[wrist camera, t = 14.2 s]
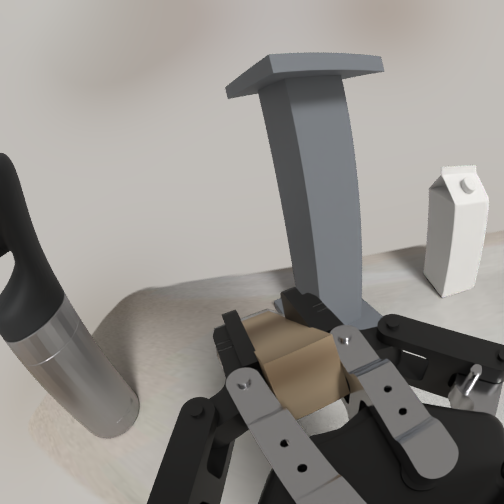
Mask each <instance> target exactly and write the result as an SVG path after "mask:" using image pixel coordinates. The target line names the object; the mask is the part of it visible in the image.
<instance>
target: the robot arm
mask: <svg viewBox="0 0 504 504" xmlns="http://www.w3.org/2000/svg"><path fill="white" fill-rule="evenodd" d="M9 251H11V252H12V253H13V256H14V260H15V266H14V269H13V272H12V275H11V278H10V279H9V282H8V284H7V285H6V287H5V288H4V290H3V291H2V293H1V294H0V335H1V336H2V337H3V339H4V340H5V342H6V343H7V344H8V346H9V347H10V348H11V350H12V351H13V352H14V354H15V355H16V356H17V358H18V359H19V360H20V361H21V362H22V364H23V365H24V366H25V367H26V368H27V370H28V371H29V372H30V373H31V374H32V375H33V377H34V378H35V379H36V380H37V381H38V382H39V383H40V384H41V386H42V387H43V388H44V389H45V390H46V391H47V392H48V393H49V394H50V395H51V396H52V397H53V398H54V399H55V400H56V401H57V402H58V403H59V404H60V405H61V406H62V407H63V408H64V409H65V410H66V411H67V412H68V413H70V414H71V415H72V416H73V417H74V418H75V419H76V420H77V421H78V422H79V423H81V424H82V425H83V426H84V427H85V428H87V429H88V430H89V431H90V432H91V433H93V434H94V435H96V436H98V437H101V438H113V437H117V436H119V435H121V434H123V433H124V432H125V431H127V430H128V429H129V428H130V427H131V426H132V424H133V423H134V421H135V420H136V417H137V415H138V411H139V401H138V397H137V395H136V394H135V392H134V391H133V390H132V389H131V388H130V386H129V385H128V384H127V383H126V382H125V380H124V379H123V378H122V377H121V375H120V374H119V373H118V371H117V370H116V369H115V368H114V366H113V365H112V364H111V362H110V361H109V360H108V358H107V357H106V356H105V354H104V353H103V352H102V350H101V349H100V347H99V346H98V345H97V343H96V342H95V340H94V339H93V337H92V336H91V335H90V333H89V332H88V330H87V328H86V327H85V325H84V324H83V322H82V321H81V319H80V318H79V316H78V315H77V313H76V311H75V310H74V308H73V306H72V305H71V303H70V301H69V300H68V298H67V296H66V294H65V293H64V291H63V289H62V287H61V285H60V284H59V282H58V280H57V278H56V276H55V275H54V273H53V271H52V269H51V267H50V265H49V263H48V261H47V259H46V257H45V254H44V252H43V250H42V248H41V246H40V243H39V241H38V238H37V235H36V233H35V230H34V227H33V224H32V221H31V218H30V215H29V212H28V209H27V206H26V202H25V198H24V195H23V191H22V188H21V185H20V181H19V178H18V175H17V173H16V170H15V168H14V165H13V163H12V162H11V160H10V159H9V157H8V156H7V155H5V154H4V153H0V257H1V256H3V255H4V254H6V253H7V252H9ZM281 300H282V305H283V310H284V315H285V318H286V319H289V320H291V321H294V322H296V323H299V324H301V325H304V326H307V327H309V328H312V327H313V328H316V329H318V330H321V331H324V332H327V333H330V334H332V336H333V339H334V342H335V345H336V348H337V352H338V355H339V358H340V361H341V365H342V370H343V373H344V375H345V378H346V381H347V385H348V388H349V392H350V394H348V395H346V396H344V397H342V398H341V400H342V402H343V403H344V405H345V407H346V410H347V414H348V418H349V421H348V422H347V423H346V424H345V425H344V426H343V427H341V428H340V429H337V430H333V431H330V432H326V433H322V434H317V435H313V436H310V437H308V435H307V434H306V433H305V432H304V430H303V429H302V428H301V426H300V425H299V424H298V422H297V421H296V420H295V418H294V417H293V416H292V414H291V413H290V412H289V410H288V409H287V408H286V407H283V406H282V405H281V404H280V403H279V401H278V400H277V398H276V397H275V395H274V394H273V393H272V391H271V390H270V388H269V387H268V385H267V384H266V382H265V379H264V376H263V373H262V370H261V367H260V364H259V361H258V359H257V357H256V355H255V353H254V351H256V350H255V348H254V346H253V344H252V342H251V340H250V338H249V336H248V334H247V332H246V330H245V328H244V326H243V324H242V322H241V319H240V317H239V315H238V313H237V311H236V310H233V311H230V312H228V313H225V314H222V317H223V320H224V322H225V325H223V326H220V327H217V328H215V330H214V334H213V339H214V342H215V345H216V348H217V351H218V354H219V357H220V360H221V363H222V366H223V369H224V372H225V376H226V382H225V385H224V387H223V388H222V390H221V391H220V392H218V393H217V394H216V395H214V396H213V397H211V398H210V399H207V398H204V397H196V398H193V399H190V400H189V401H187V402H186V403H185V404H184V405H183V406H182V408H181V410H180V413H179V416H178V419H177V421H176V424H175V427H174V430H173V432H172V435H171V438H170V440H169V443H168V446H167V449H166V451H165V454H164V457H163V460H162V463H161V465H160V468H159V471H158V474H157V477H156V479H155V482H154V485H153V488H152V491H151V493H150V496H149V499H148V502H147V504H220V501H221V497H222V493H223V489H224V485H225V481H226V477H227V472H228V468H229V464H230V460H231V455H232V451H233V446H234V442H235V439H236V438H237V437H239V436H240V435H242V434H243V433H244V432H246V431H247V430H250V432H251V433H252V435H253V437H254V438H255V440H256V442H257V443H258V445H259V447H260V448H261V450H262V452H263V453H264V455H265V457H266V458H267V460H268V461H269V463H270V465H271V466H272V470H271V471H270V473H269V475H268V478H267V480H266V483H265V486H264V489H263V491H262V494H261V497H260V499H259V502H258V504H504V427H503V425H502V423H501V422H500V421H499V420H498V418H496V417H495V414H496V411H497V407H498V402H499V398H500V393H501V389H502V384H503V382H504V345H502V344H498V343H494V342H491V341H487V340H484V339H480V338H476V337H473V336H469V335H466V334H462V333H459V332H455V331H452V330H448V329H445V328H441V327H438V326H434V325H431V324H427V323H424V322H420V321H417V320H414V319H410V318H407V317H404V316H400V315H396V314H389V315H385V316H383V317H382V318H381V319H380V320H379V321H378V324H377V327H372V328H368V329H364V330H358V329H357V328H356V327H354V326H351V325H344V324H343V323H342V322H341V321H340V320H339V319H338V317H337V316H336V315H335V314H334V313H333V312H332V311H331V310H330V309H329V308H327V306H326V305H325V304H324V303H323V302H322V301H321V300H320V299H319V298H318V297H317V296H315V295H313V294H311V293H305V294H303V295H302V294H301V293H300V292H299V291H298V289H297V288H296V287H293V288H291V289H288V290H286V291H283V292H281ZM403 350H405V351H408V352H411V353H414V354H417V355H420V356H423V357H425V358H427V359H424V358H421V357H418V356H415V355H412V354H409V353H406V352H403ZM409 385H410V386H413V387H416V388H419V389H422V390H425V391H427V392H430V393H433V394H436V395H439V396H442V397H446V398H448V399H449V402H450V406H451V408H448V407H441V406H435V405H430V404H424V403H421V401H420V400H419V398H418V397H417V396H416V394H415V393H414V392H413V390H412V389H411V387H410V386H409Z"/></svg>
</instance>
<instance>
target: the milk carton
mask: <svg viewBox="0 0 504 504" xmlns="http://www.w3.org/2000/svg"><path fill="white" fill-rule="evenodd" d="M488 207H489V198H488V195H487V193H486V191H485V189H484V187H483V185H482V183H481V181H480V179H479V177H478V175H477V173H476V165H467V166H450V167H441V176H440V177H439V178H438V179H437V180H436V181H435V182H434V184H433V185H432V186H431V187H430V188H429V213H428V232H427V244H426V254H425V263H424V271H423V273H424V275H425V276H426V277H427V279H428V280H429V281H430V282H431V284H432V285H433V286H434V288H435V289H436V290H437V292H438V293H439V294H440V296H441V297H442V298H443V297H447V296H450V295H453V294H457V293H460V292H463V291H466V290H469V289H472V288H474V285H475V281H476V277H477V273H478V268H479V264H480V259H481V254H482V249H483V244H484V238H485V232H486V225H487V217H488Z"/></svg>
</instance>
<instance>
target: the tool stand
mask: <svg viewBox="0 0 504 504" xmlns="http://www.w3.org/2000/svg"><path fill="white" fill-rule="evenodd" d="M378 72H384V68H383V64H382V59H381V57H380V56H371V55H361V54H346V53H287V54H286V53H285V54H270V55H267V56H266V57H265V58H263V59H262V60H261V61H259V62H258V63H256V64H255V65H253V66H252V67H251V68H250V69H248V70H247V71H246V72H244V73H243V74H242V75H240V76H239V77H238V78H236V79H235V80H234V81H233V82H231V83H230V84H229V85H228V86H226V93H227V97H228V99H230V98H235V97H240V96H246V95H252V94H257V93H258V94H259V98H260V103H261V107H262V111H263V116H264V120H265V125H266V130H267V134H268V139H269V144H270V148H271V153H272V157H273V163H274V168H275V173H276V178H277V183H278V188H279V193H280V198H281V204H282V209H283V215H284V220H285V226H286V231H287V237H288V243H289V248H290V255H291V261H292V267H293V273H294V279H295V285H296V288H297V289H298V291H299V292H300V293H301V294H302V295H303V294H305V293H311V294H313V295H315V296H317V297H318V298H319V299H320V300H321V301H322V302H323V303H324V304H325V305H326V306H327V308H329V309H330V310H331V311H332V312H333V313H334V314H335V315H336V316H337V317H338V319H339V320H340V321H341V322H342V323H343V324H344V325H351V326H354V327H356V328H357V329H358V330H364V329H368V328H372V327H377V324H378V321H379V320H380V319H381V318H382V317H383V316H382V315H381V314H379V313H378V312H377V311H376V310H375V309H374V308H373V307H371V306H370V305H369V304H368V303H367V302H366V301H365V300H363V299H362V241H361V218H360V203H359V191H358V180H357V170H356V161H355V154H354V145H353V138H352V131H351V125H350V119H349V113H348V108H347V102H346V97H345V92H344V87H343V82H342V79H346V78H350V77H356V76H361V75H366V74H371V73H378ZM274 303H275V308H276V310H277V311H278V312H279V313H281V314H284V310H283V305H282V300H281V298H280V299H277V300H275V301H274Z"/></svg>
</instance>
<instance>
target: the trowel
mask: <svg viewBox="0 0 504 504" xmlns="http://www.w3.org/2000/svg"><path fill="white" fill-rule="evenodd" d="M241 322H242V324H243V326H244V328H245V330H246V332H247V334H248V336H249V338H250V340H251V342H252V344H253V346H254V348H255V350H256V351H254V353H255V355H256V357H257V359H258V361H259V364H260V367H261V370H262V373H263V376H264V379H265V382H266V384H267V385H268V387H269V388H270V390H271V391H272V393H273V394H274V395H275V397H276V398H277V400H278V401H279V403H280V404H281V405H282V406H283V407H286V408H287V409H288V410H289V412H290V413H291V414H292V416H293V417H294V418H295V420H297V419H300V418H302V417H304V416H306V415H308V414H311V413H313V412H315V411H317V410H319V409H321V408H323V407H325V406H327V405H329V404H331V403H333V402H335V401H337V400H339V399H341V398H342V397H344V396H346V395H348V394H350V392H349V388H348V385H347V381H346V378H345V375H344V373H343V370H342V365H341V361H340V358H339V355H338V352H337V348H336V345H335V342H334V339H333V336H332V334H330V333H327V332H324V331H321V330H318V329H316V328H313V327H312V328H309V327H307V326H304V325H301V324H299V323H296V322H294V321H291V320H289V319H286V318H285V315H284V314H281V313H278V312H275V311H273V310H270V309H265V310H262V311H260V312H257V313H254V314H252V315H249V316H246V317H244V318H241ZM222 326H223V325H222ZM219 327H220V326H219ZM216 328H217V327H216ZM214 330H215V328H214ZM216 350H217V348H216ZM217 357H218V359H219V361H220V364H221V366H222V363H221V360H220V357H219V354H218V351H217ZM222 368H223V366H222Z"/></svg>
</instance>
